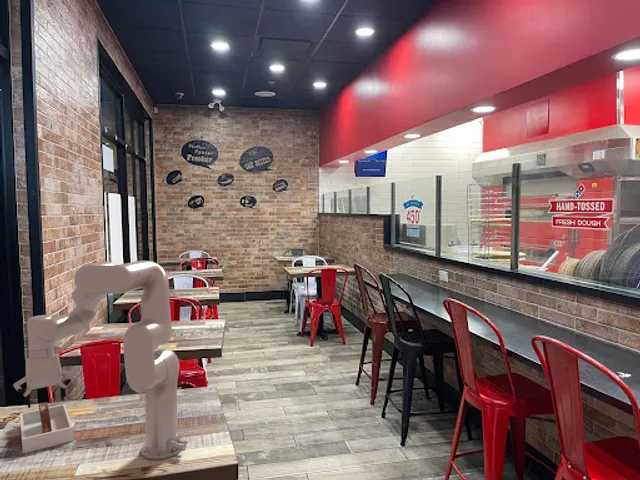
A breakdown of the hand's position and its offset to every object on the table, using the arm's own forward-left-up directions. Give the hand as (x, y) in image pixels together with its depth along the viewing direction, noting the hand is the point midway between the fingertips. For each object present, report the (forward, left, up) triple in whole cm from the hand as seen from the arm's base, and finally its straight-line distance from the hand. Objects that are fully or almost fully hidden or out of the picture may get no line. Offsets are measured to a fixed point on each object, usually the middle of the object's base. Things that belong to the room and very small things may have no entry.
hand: (46, 402), depth 156 cm
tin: (+1, 0, -10) cm, 10 cm away
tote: (+1, 0, -11) cm, 11 cm away
